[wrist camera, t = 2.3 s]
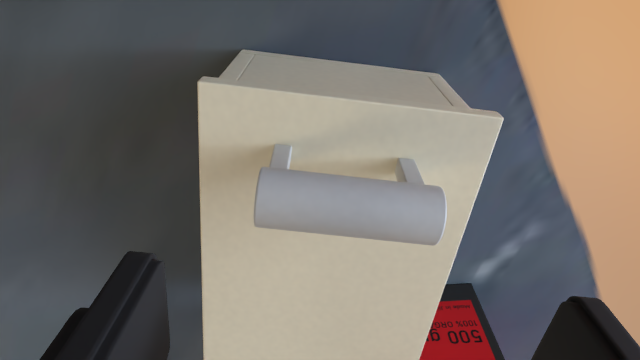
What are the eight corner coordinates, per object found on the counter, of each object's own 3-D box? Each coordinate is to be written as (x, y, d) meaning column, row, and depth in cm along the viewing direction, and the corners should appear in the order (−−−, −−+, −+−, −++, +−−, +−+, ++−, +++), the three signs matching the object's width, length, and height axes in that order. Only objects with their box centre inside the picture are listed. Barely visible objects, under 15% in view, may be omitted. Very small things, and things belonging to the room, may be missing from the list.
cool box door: (202, 75, 16) (151, 126, 11) (497, 111, 17) (565, 174, 12) (206, 358, 24) (178, 458, 19) (406, 376, 25) (426, 477, 20)
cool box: (242, 49, 24) (202, 94, 17) (439, 73, 25) (490, 129, 17) (235, 258, 32) (207, 358, 24) (387, 274, 33) (406, 375, 25)
